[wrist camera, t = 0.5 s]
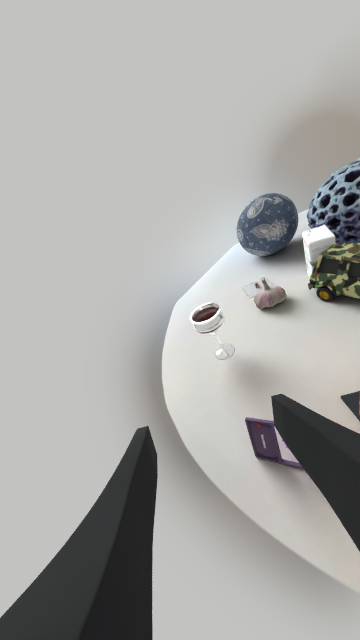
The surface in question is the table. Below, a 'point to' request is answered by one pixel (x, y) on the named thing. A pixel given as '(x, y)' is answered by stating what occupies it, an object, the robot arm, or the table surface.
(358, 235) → the decorative object
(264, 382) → the table surface
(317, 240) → the ink box
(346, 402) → the mat
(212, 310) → the wineglass
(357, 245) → the toy car
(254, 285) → the white tile
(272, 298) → the garlic bulb
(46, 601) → the robot arm
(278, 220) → the decorative ball
